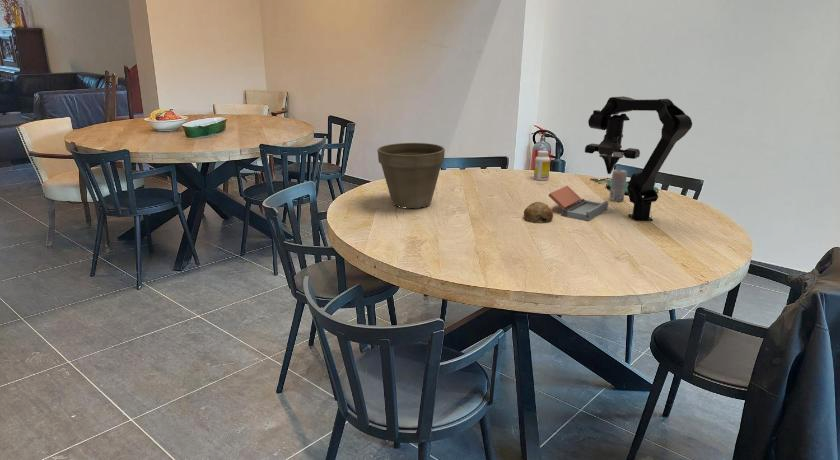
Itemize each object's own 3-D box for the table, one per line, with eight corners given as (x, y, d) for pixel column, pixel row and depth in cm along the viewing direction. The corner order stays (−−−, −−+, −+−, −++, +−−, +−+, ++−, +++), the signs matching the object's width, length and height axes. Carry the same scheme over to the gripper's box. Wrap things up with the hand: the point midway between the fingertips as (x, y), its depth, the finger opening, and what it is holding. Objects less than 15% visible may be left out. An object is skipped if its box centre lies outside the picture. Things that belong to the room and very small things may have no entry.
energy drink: (621, 198, 223) (625, 169, 220) (624, 202, 218) (628, 172, 214) (607, 198, 224) (611, 168, 220) (610, 201, 219) (614, 171, 215)
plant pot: (369, 210, 205) (368, 152, 198) (388, 193, 227) (388, 140, 220) (435, 215, 199) (437, 156, 192) (448, 198, 222) (450, 144, 215)
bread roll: (527, 232, 194) (533, 215, 189) (517, 212, 201) (522, 196, 196) (553, 230, 197) (559, 213, 191) (541, 211, 204) (548, 194, 198)
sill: (587, 205, 213) (587, 199, 212) (566, 216, 199) (567, 210, 199) (581, 204, 214) (582, 198, 214) (561, 215, 201) (561, 208, 200)
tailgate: (581, 198, 212) (567, 185, 214) (564, 207, 201) (550, 193, 203) (579, 201, 213) (565, 188, 215) (562, 210, 202) (547, 196, 204)
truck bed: (607, 209, 208) (608, 201, 207) (588, 221, 195) (589, 212, 194) (586, 205, 213) (587, 197, 212) (566, 216, 200) (567, 208, 199)
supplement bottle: (550, 178, 255) (553, 151, 250) (545, 181, 249) (548, 153, 245) (536, 176, 258) (538, 149, 254) (531, 179, 253) (533, 151, 248)
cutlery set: (624, 198, 225) (625, 192, 224) (585, 181, 253) (585, 176, 252) (666, 195, 230) (667, 190, 229) (623, 180, 258) (624, 175, 257)
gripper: (580, 131, 202) (576, 173, 207) (632, 137, 191) (626, 181, 196) (592, 128, 210) (588, 168, 215) (643, 133, 199) (637, 176, 204)
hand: (609, 173), depth 207 cm, fingers closed
